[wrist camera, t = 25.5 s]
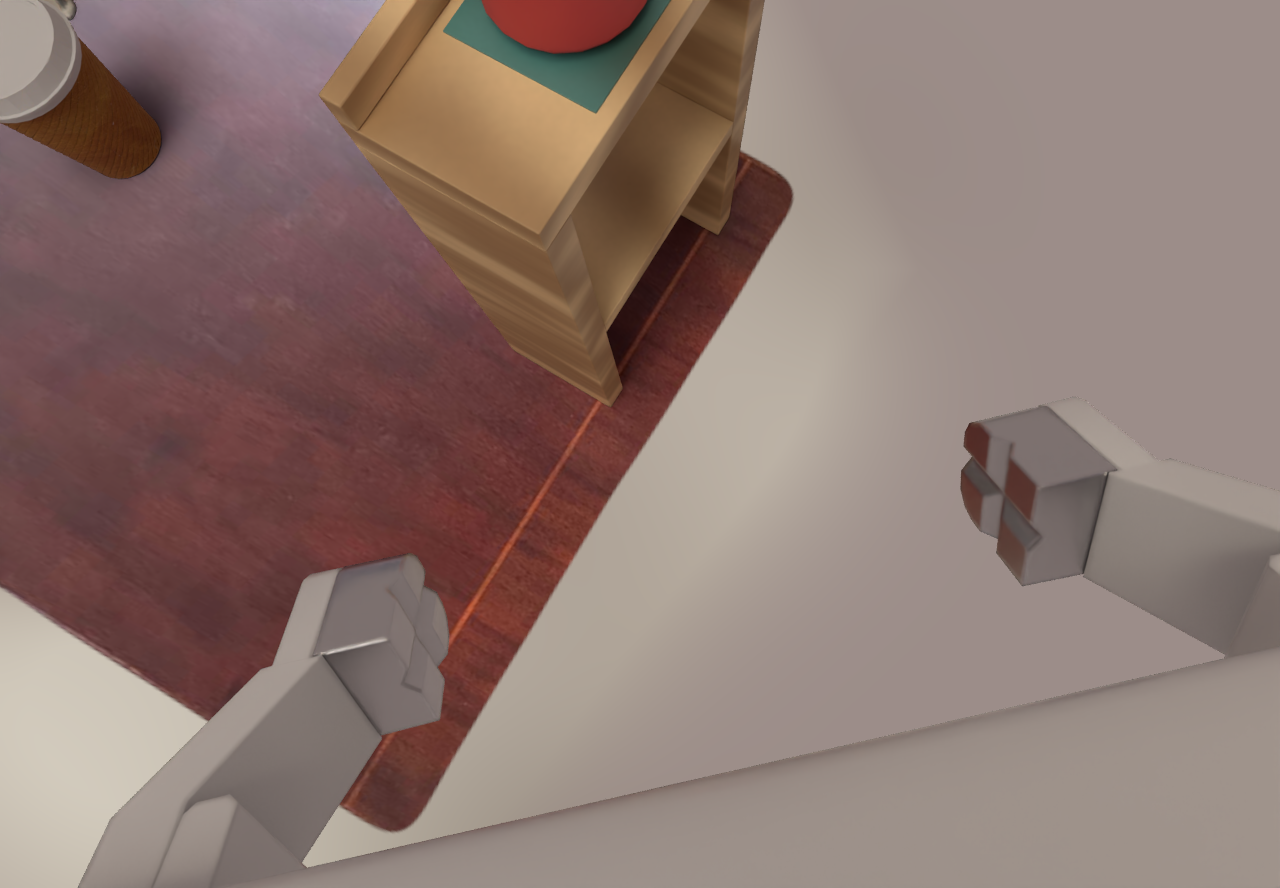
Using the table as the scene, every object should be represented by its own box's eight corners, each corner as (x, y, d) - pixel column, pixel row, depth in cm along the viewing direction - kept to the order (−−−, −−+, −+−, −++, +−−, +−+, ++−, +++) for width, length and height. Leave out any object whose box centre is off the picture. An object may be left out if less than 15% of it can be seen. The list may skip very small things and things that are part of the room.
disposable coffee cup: (141, 214, 60) (10, 129, 48) (49, 169, 61) (-102, 75, 49) (201, 119, 61) (87, 13, 49) (109, 76, 62) (-24, -38, 50)
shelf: (610, 407, 55) (530, 214, 24) (513, 350, 56) (316, 94, 25) (729, 217, 57) (796, -188, 26) (633, 165, 58) (587, -283, 27)
